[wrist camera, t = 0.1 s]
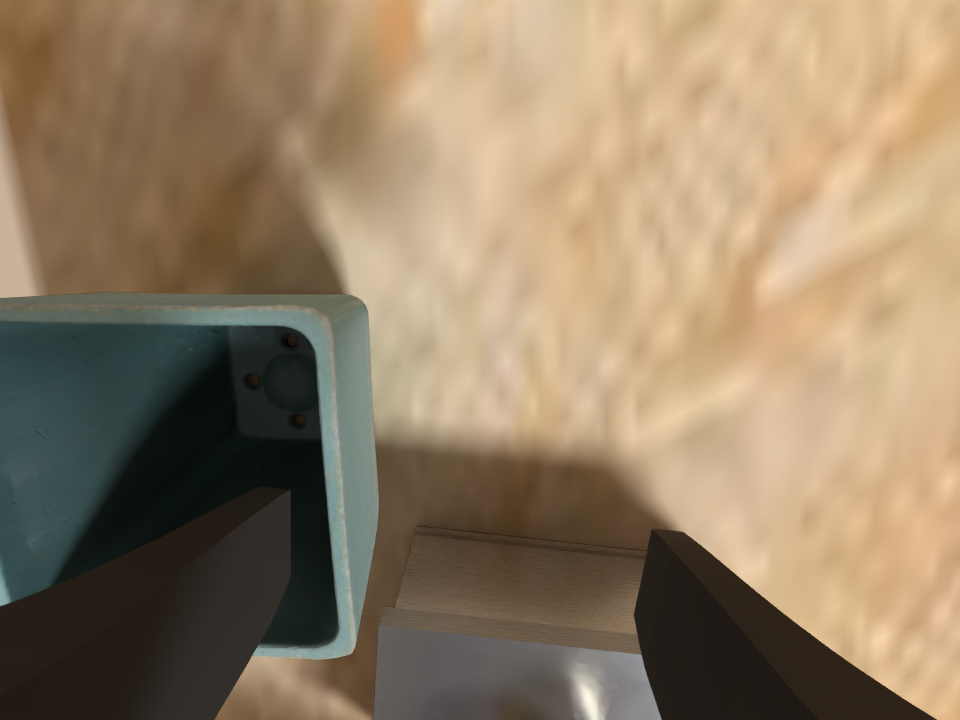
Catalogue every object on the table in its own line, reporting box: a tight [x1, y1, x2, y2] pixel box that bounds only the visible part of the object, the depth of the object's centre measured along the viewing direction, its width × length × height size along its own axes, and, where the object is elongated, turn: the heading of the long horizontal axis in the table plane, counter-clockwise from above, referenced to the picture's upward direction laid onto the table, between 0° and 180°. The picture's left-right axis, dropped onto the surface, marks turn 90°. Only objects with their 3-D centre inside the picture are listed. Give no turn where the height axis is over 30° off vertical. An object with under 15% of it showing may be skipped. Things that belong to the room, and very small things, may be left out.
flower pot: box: [0, 292, 379, 660], centre depth 16 cm, size 9×9×9 cm
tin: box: [395, 526, 647, 635], centre depth 21 cm, size 12×12×5 cm
